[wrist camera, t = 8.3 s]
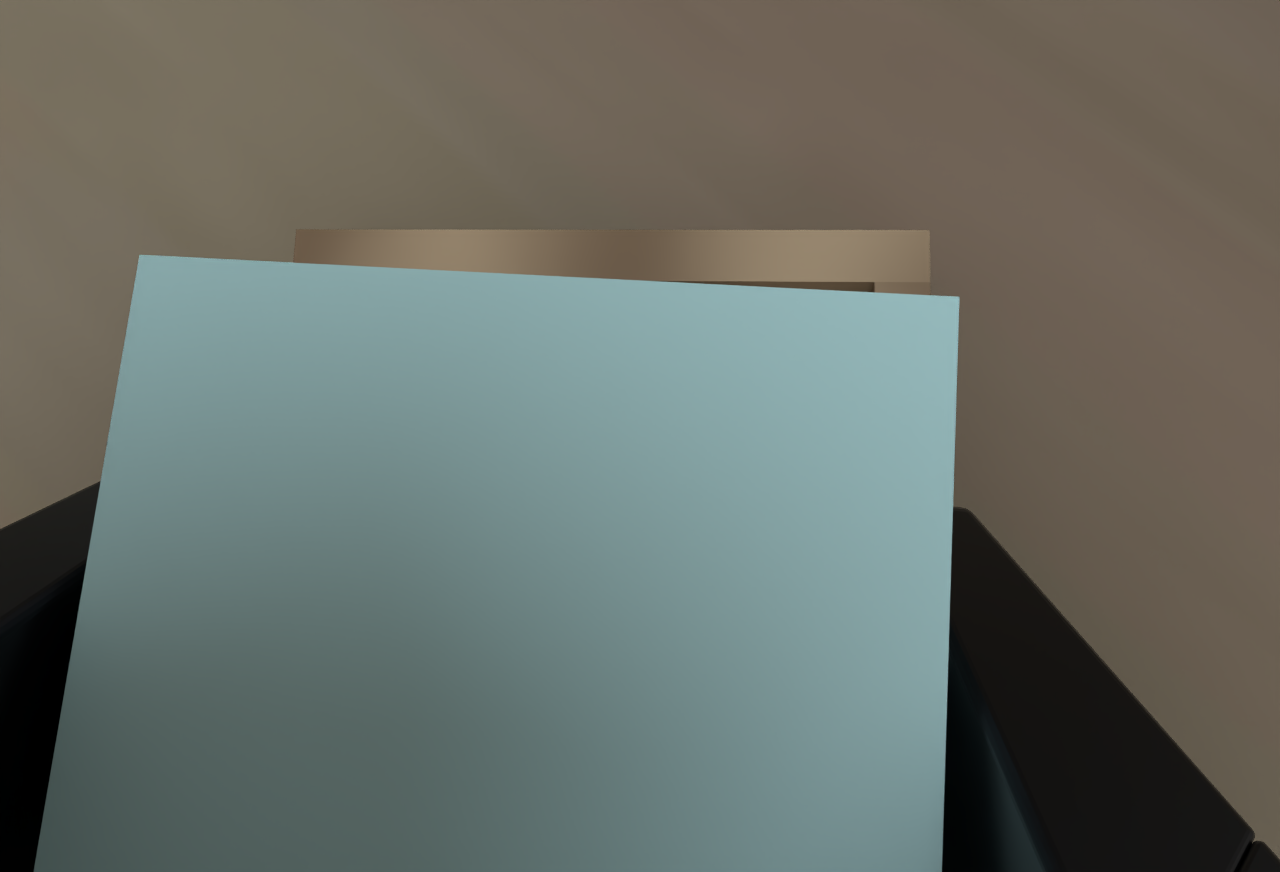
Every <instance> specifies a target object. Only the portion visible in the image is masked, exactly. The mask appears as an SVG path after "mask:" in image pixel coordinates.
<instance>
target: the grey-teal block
mask: <svg viewBox="0 0 1280 872" xmlns="http://www.w3.org/2000/svg"><path fill="white" fill-rule="evenodd" d="M958 324H959V297H952V296H933V295H913V294H894V293H874V292H855V291H835V290H816V289H796V288H777V287H757V286H738V285H718V284H699V283H679V282H660V281H640V280H621V279H601V278H582V277H562V276H543V275H523V274H504V273H484V272H465V271H445V270H426V269H406V268H387V267H367V266H348V265H328V264H309V263H289V262H270V261H250V260H231V259H211V258H192V257H172V256H153V255H140V256H139V262H138V267H137V273H136V279H135V285H134V291H133V296H132V302H131V308H130V314H129V320H128V325H127V331H126V337H125V343H124V349H123V355H122V360H121V366H120V372H119V378H118V384H117V389H116V395H115V401H114V407H113V413H112V418H111V424H110V430H109V436H108V442H107V448H106V453H105V459H104V465H103V471H102V477H101V482H100V488H99V494H98V500H97V506H96V511H95V517H94V523H93V529H92V535H91V541H90V546H89V552H88V558H87V564H86V570H85V575H84V581H83V587H82V593H81V599H80V604H79V610H78V616H77V622H76V628H75V634H74V639H73V645H72V651H71V657H70V663H69V668H68V674H67V680H66V686H65V692H64V697H63V703H62V709H61V715H60V721H59V727H58V732H57V738H56V744H55V750H54V756H53V761H52V767H51V773H50V779H49V785H48V790H47V796H46V802H45V808H44V814H43V820H42V825H41V831H40V837H39V843H38V849H37V854H36V860H35V866H34V872H942V851H943V818H944V785H945V752H946V719H947V686H948V653H949V620H950V587H951V554H952V521H953V488H954V456H955V423H956V390H957V357H958Z"/></svg>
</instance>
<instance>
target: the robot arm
mask: <svg viewBox="0 0 1280 872" xmlns="http://www.w3.org/2000/svg"><path fill="white" fill-rule="evenodd" d="M100 482H101V481H100ZM100 482H98V483H96V484H94V485H91V486H89V487H87V488H85V489H83V490H81V491H79V492H77V493H75V494H73V495H71V496H69V497H66V498H64V499H62V500H60V501H58V502H56V503H54V504H52V505H50V506H48V507H46V508H43V509H41V510H39V511H37V512H35V513H33V514H31V515H29V516H27V517H25V518H23V519H20V520H18V521H16V522H14V523H12V524H10V525H8V526H6V527H4V528H2V529H0V872H34V866H35V860H36V854H37V849H38V843H39V837H40V831H41V825H42V820H43V814H44V808H45V802H46V796H47V790H48V785H49V779H50V773H51V767H52V761H53V756H54V750H55V744H56V738H57V732H58V727H59V721H60V715H61V709H62V703H63V697H64V692H65V686H66V680H67V674H68V668H69V663H70V657H71V651H72V645H73V639H74V634H75V628H76V622H77V616H78V610H79V604H80V599H81V593H82V587H83V581H84V575H85V570H86V564H87V558H88V552H89V546H90V541H91V535H92V529H93V523H94V517H95V511H96V506H97V500H98V494H99V488H100ZM1254 838H1255V833H1254V831H1253V830H1252V828H1251V827H1250V826H1249V825H1248V824H1247V823H1246V822H1245V821H1244V819H1243V818H1242V817H1241V816H1240V815H1239V814H1238V813H1237V812H1236V810H1235V809H1234V808H1233V807H1232V806H1231V805H1230V804H1229V802H1228V801H1227V800H1226V799H1225V798H1224V797H1223V796H1222V795H1221V793H1220V792H1219V791H1218V790H1217V789H1216V788H1215V787H1214V785H1213V784H1212V783H1211V782H1210V781H1209V780H1208V779H1207V778H1206V776H1205V775H1204V774H1203V773H1202V772H1201V771H1200V770H1199V769H1198V767H1197V766H1196V765H1195V764H1194V763H1193V762H1192V761H1191V759H1190V758H1189V757H1188V756H1187V755H1186V754H1185V753H1184V752H1183V750H1182V749H1181V748H1180V747H1179V746H1178V745H1177V744H1176V743H1175V741H1174V740H1173V739H1172V738H1171V737H1170V736H1169V735H1168V733H1167V732H1166V731H1165V730H1164V729H1163V728H1162V727H1161V726H1160V724H1159V723H1158V722H1157V721H1156V720H1155V719H1154V718H1153V716H1152V715H1151V714H1150V713H1149V712H1148V711H1147V710H1146V709H1145V707H1144V706H1143V705H1142V704H1141V703H1140V702H1139V701H1138V700H1137V698H1136V697H1135V696H1134V695H1133V694H1132V693H1131V692H1130V690H1129V689H1128V688H1127V687H1126V686H1125V685H1124V684H1123V683H1122V681H1121V680H1120V679H1119V678H1118V677H1117V676H1116V675H1115V674H1114V672H1113V671H1112V670H1111V669H1110V668H1109V667H1108V666H1107V664H1106V663H1105V662H1104V661H1103V660H1102V659H1101V658H1100V657H1099V655H1098V654H1097V653H1096V652H1095V651H1094V650H1093V649H1092V647H1091V646H1090V645H1089V644H1088V643H1087V642H1086V641H1085V640H1084V638H1083V637H1082V636H1081V635H1080V634H1079V633H1078V632H1077V631H1076V629H1075V628H1074V627H1073V626H1072V625H1071V624H1070V623H1069V621H1068V620H1067V619H1066V618H1065V617H1064V616H1063V615H1062V614H1061V612H1060V611H1059V610H1058V609H1057V608H1056V607H1055V606H1054V605H1053V603H1052V602H1051V601H1050V600H1049V599H1048V598H1047V597H1046V595H1045V594H1044V593H1043V592H1042V591H1041V590H1040V589H1039V588H1038V586H1037V585H1036V584H1035V583H1034V582H1033V581H1032V580H1031V579H1030V577H1029V576H1028V575H1027V574H1026V573H1025V572H1024V571H1023V569H1022V568H1021V567H1020V566H1019V565H1018V564H1017V563H1016V562H1015V560H1014V559H1013V558H1012V557H1011V556H1010V555H1009V554H1008V552H1007V551H1006V550H1005V549H1004V548H1003V547H1002V546H1001V545H1000V543H999V542H998V541H997V540H996V539H995V538H994V537H993V536H992V534H991V533H990V532H989V531H988V530H987V529H986V528H985V526H984V525H983V524H982V523H981V522H980V521H979V520H978V519H977V517H976V516H975V515H974V514H973V513H972V512H971V511H969V510H968V509H966V508H962V507H953V521H952V554H951V587H950V620H949V653H948V686H947V719H946V752H945V785H944V818H943V851H942V872H1280V859H1279V858H1278V857H1277V856H1276V855H1275V854H1274V853H1273V852H1272V850H1271V849H1270V848H1269V847H1268V846H1267V845H1266V844H1265V843H1264V842H1262V841H1255V842H1253V840H1254ZM1252 842H1253V843H1252Z"/></svg>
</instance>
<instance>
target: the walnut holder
mask: <svg viewBox="0 0 1280 872" xmlns="http://www.w3.org/2000/svg"><path fill="white" fill-rule="evenodd" d="M293 263H309V264H328V265H348V266H367V267H387V268H406V269H426V270H445V271H465V272H484V273H504V274H523V275H543V276H562V277H582V278H601V279H621V280H640V281H660V282H679V283H699V284H718V285H738V286H757V287H777V288H796V289H816V290H835V291H855V292H874V293H894V294H913V295H931V293H930V230H319V229H296V238H295V249H294V260H293Z"/></svg>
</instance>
